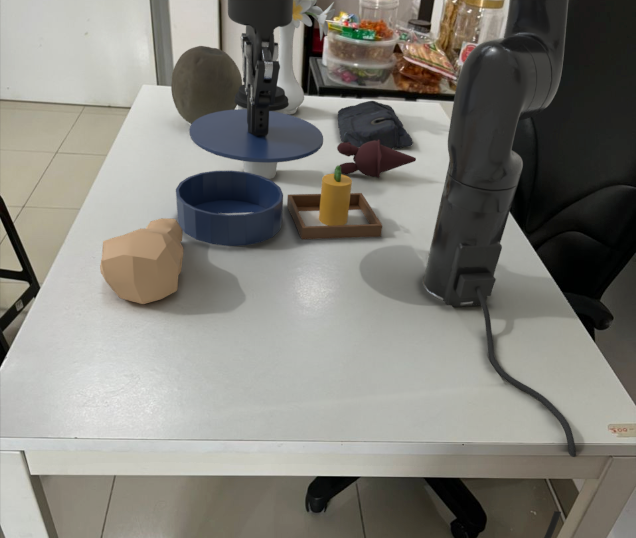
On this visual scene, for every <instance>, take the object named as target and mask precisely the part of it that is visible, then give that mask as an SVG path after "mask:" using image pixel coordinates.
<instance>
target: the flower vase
mask: <svg viewBox="0 0 636 538" xmlns="http://www.w3.org/2000/svg"><path fill="white" fill-rule="evenodd" d="M317 1H318V0H293V14H292V21H291V23H290V24H289V25H287V26H284V27H278V34H279V42H278V59H277V61H279V65H280V69H279V75H278V82H277V86H278V87H281V88H282V89H284V91H285V96H287V98H288V103H289V105H288V107H286V108H285V110H284V114H288V115H291V116H292V115H294V114H296V113H297V111H298V109H297V108H300V107H301V105H302V104H303V102H304V100H305V93H304V89H303V87H302V86H301V85H300V83H299V82H298V80H297V77H296V76H295V72H294V71H295V70H294V65H293V63H294V62H293V61H294V60H293V58H294V57H293V56H294V55H293V53H294V38H295V37H294V35H295V31H296V29H299V27H300V26H301V23H303V24H304V25H306V26H307V27H312V26H313V22H312V20H311V18H310V17H309V16H312V17H313V18H314V19H315V20H316V21H317V22H318V27H319V37H320V38H319V39H320V41H322V39H323V37H324V36H327V35H328V32H329V23H328V21H329V20H331V19H332V18H333V16H334V15H335V13H336V9H335V8H333V7H334V5H335V1H333V2H332V3H330V5H329V6H328V7H327V8H326V9H325V10H324V11H323V9H322V8H321V7H320V6H317V5H316V3H317Z"/></svg>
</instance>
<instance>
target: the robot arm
mask: <svg viewBox="0 0 636 538" xmlns="http://www.w3.org/2000/svg"><path fill="white" fill-rule="evenodd" d="M568 9H569V0H509V1H508V9H507V17H506V24H505V29H504V34H503V37H500V38H494V39H489V40H486V41H483V42H482V43H479V44H478V45H476V46H475V47H474V48H473V49H472V50H471V51H470V52H469V54H468V55H467V56H466V59H465V60H464V63H463V64H462V67H461V69H460V72H459V75H458V78H457V83H456V87H455V91H454V92H455V93H454V98H453V104H452V109H451V117H450V121H449V122H450V123H449V129H448V135H447V151H448V157H449V158H448V159H449V161H448V165H447V166H448V167H447V171H446V174H445V180H444V185H443V188H442V193H441V198H440V202H439V207H438V212H437V216H436V221H435V225H434V230H433V234H432V235H433V236H432V239H431V242H430V243H431V244H430V248H429V252H428V256H427V263H426V266H425V272H424V275H423V276H422V286H423V289H424V290H425V291H426V292H427V293H428V294H429V295H431V297H433V298H435V299H437V300H440V301H442V302H443V303H444V304H445V305H446V306H452V308H456V307H472V306H481V309H482V312H483V317H484V325H485V326H484V327H485V334H486V338H487V339H486V340H487V354H488V359H489V362H490V365H491V366H492V367H493V369H494V370H495V372H496V373H497V374H498V375H499V377H502V379H503V380H505V382H508V383H509V384H510V385H512V386H514V387H516V388H518V389H519V390H521V391H523V392H525V394H527V395H530V396H531V397H533V398H534V399H536V400H537V401H538V402H539V403H541V404H542V405H543V406H544V407H545V408H546V409H547V410H548V411H549V412H550V413H551V414H552V415H553V416H554V417H555V419H557V421H558V422H559V423H560V425H561V427H562V429H563V431H564V435H565V437H566V442H567V450H568V454H569V456H570V457H571V458H576V457H577V452H576V451H577V450H576V444H575V438H574V433H573V431H572V428H571V425H570V423H569V422H568V420H567V418H566V417H565V416H564V415H563V414H562V412H560V410H559V409H558V408H557V407H556V406H555V405H554V404H553V403H552V402H551V401H550V400H549V399H547V397H545V396H544V395H543V394H541V393H540V392H538V391H537V390H535V389H534V388H531V387H530V386H527V384H524V383H523V382H521V381H519V380H517V379H516V378H514V377H512V376H511V375H510V374H509V373H507V372H506V371H505V370H504V369H503V368H502V366H501V365H500V364H499V362H498V360H497V359H496V356H495V347H494V345H495V344H494V336H493V330H492V322H491V314H490V310H489V307H488V304H487V300H488V297H491V296H492V293H493V291H494V290H493V289H494V287H495V284H496V277H495V273H496V269H497V267H498V262H499V259H500V256H501V252H502V250H503V245H502V244H501V242H502V238H503V235H504V232H505V229H506V225H507V222H508V218H509V214H510V211H511V209H512V205H513V203H514V198H515V196H516V192H517V188H518V186H519V183H520V179H521V175H522V173H523V166H524V162H523V158H522V157H521V155H520V154H518V152H516V151H514V150H512V149H513V145H514V140H515V135H516V130H517V126H518V122H520V121H524V120H528V119H531V118H533V117H536V116H537V115H539V114H540V113H542V112H543V111H544V110H545V109H547V108H548V106H550V104H551V103H552V101H553V99H554V98H555V96H556V94H557V92H558V90H559V86H560V83H561V77H562V72H563V64H564V57H565V56H564V55H565V45H566V32H567V21H568V20H567V19H568ZM292 14H293V0H227V16H228V18H229V19H230V20H231V21H232V22H234V23H236V24H239V25H241V26H245V32H242V33H241V36H240V49H241V56H242V62H241V63H242V65H241V66H242V68H241V71H242V74H243V77H242V83H243V85H246V87H245V92H246V95H248V88H249V86H250V85H251V98H250V102H251V133H252V135H254V136H266V135H267V134H268V130H269V105H270V106H271V105H274V102H275V95H276V88H277V82H278V75H279V69H280V65H279V61H278V56H279V42H275V33H274V32H275V30H276V29H277V28H279V27H284V26H287V25H289V24H290V23H291V21H292ZM260 91H266V94H259V93H260ZM247 123H248V96H247ZM561 514H562V511H558V510H557V511H555V510H553V514H552V517H551V520H550V522H549V525H548V526H547V529H546V532H545V534H544V537H543V538H552V537H553V534H554V532H555V530H556V528H557V525H558V522H559V520H560V517H561Z"/></svg>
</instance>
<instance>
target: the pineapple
mask: <svg viewBox="0 0 636 538" xmlns="http://www.w3.org/2000/svg"><path fill="white" fill-rule="evenodd" d="M339 165H340V164H338V165H336V166H335V168H334V173H327V174H325V175H323V176H322V178H321V187H320V188H321V190H320V194H321V199H320V210H319V211H318V220H319V222H320V223H321V224H323V225H324V226H333V225H347V223H348V218H349V211H350V210H349V203H350V194H351V193H352V185H353V180H352V177H350V176H348V175H346V174H341V166H339Z"/></svg>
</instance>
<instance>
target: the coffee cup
mask: <svg viewBox="0 0 636 538" xmlns="http://www.w3.org/2000/svg"><path fill="white" fill-rule="evenodd" d="M245 87H246V85H244V84H242V86H240V87H239V91H238V93H236V95H235V99H234V102H235V103H236V104H237V110H238V109H247V96H248V95H246V92H245ZM288 105H289V103H288V98H287V96H285V91H284V89H282V88H281V87H278V86H277V88H276V95H275V102H274V105H271V106H270V105H269V111H273V112H279V113H283V114H284V110H285V108H286V107H288ZM242 164H243V166H242V167H243V172H248V173H252V174H256V175H260V176H262V177H265V178H267V179H269V180H272V179H274V178H275V177H276V174H277V167H278V162H272V163H262V162H248V161H242Z"/></svg>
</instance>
